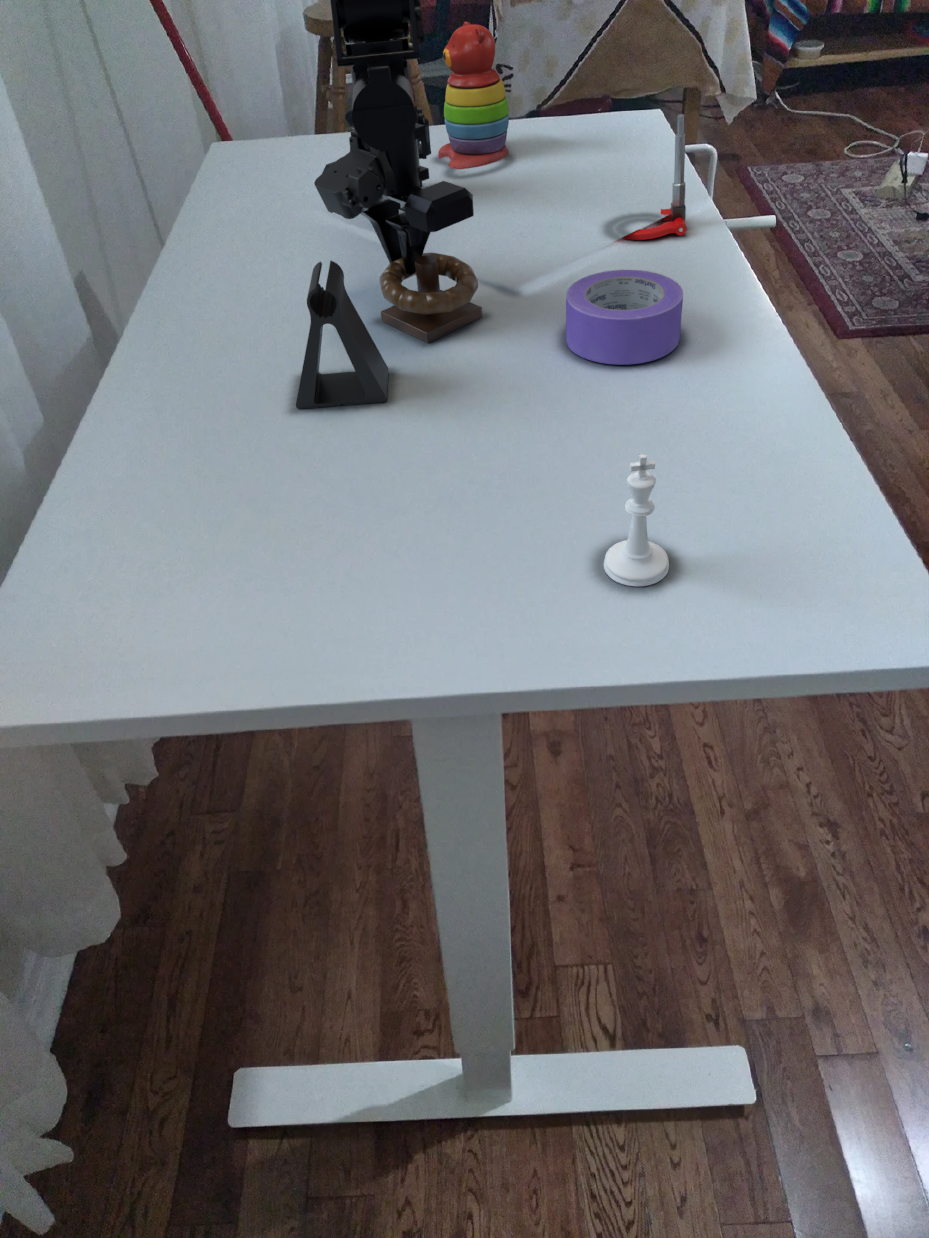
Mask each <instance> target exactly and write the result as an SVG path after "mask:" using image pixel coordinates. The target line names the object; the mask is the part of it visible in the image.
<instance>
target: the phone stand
mask: <svg viewBox="0 0 929 1238" xmlns="http://www.w3.org/2000/svg"><path fill="white" fill-rule="evenodd" d="M322 267H323V263H322V261H319V262H317V263H316V264H315V265H314V267H313V269H312V273H311V278H310V283H309V287H308V291H307V297H306V306H307V309H308V311H309V316H310V317H309V318H310V324H309V325H310V326H309V331H308V336H307V340H306V341H307V342H306V345H305V346H306V347H305V352H304V358H303V363H302V368H301V369H302V370H301V374H300V380H299V384H298V391H297V396H296V402H295V407H296V408H297V409H298V410H305V409H317V408H328V407H329V408H331V407H340V406H341V405H343V406H355V405H366V404H367V405H368V404H379V403H386V402H387V401H388V387H389V386H388V385H389V384H388V382H389V367H388V365H387V363H386V361H385V359H384V358H383V356H382V354H381V352H380V350H379V349H378V346H377V345H376V343H375V342H374V339H373V338H372V336H371V334H370V333H369V331H368V328H367V327H366V325H365V323H364V321H363V320H362V318H361V316H360V314H359V313H358V311H357V309H356V307H355V305H354V303H353V301H352V300H351V298H350V296H349V294H348V293H347V290H346V286H345V274H344V271H343V268H342V267H341V266H340V264H338V263H337V262H336V261H333V260H330V261H329V267H328V272H327V279H326V284H325V289H324V286H321V285H322V284H320V279H321V273H322ZM325 325H332V326H333V327H334V328H335V330H336V332H337V335H338V337H339V338H340V341H341V343H342V345H343V347H344V350H345V352H346V353H347V356H348V358H349V360H350V363H351V365H352V367H353V369H354V371H344V372H343V371H342V372H332V373H320V365H321V353H322V342H323V332H324V331H323V330H324V326H325Z"/></svg>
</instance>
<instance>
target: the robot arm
mask: <svg viewBox="0 0 929 1238" xmlns="http://www.w3.org/2000/svg"><path fill="white" fill-rule="evenodd" d="M329 3H330V10H331V19H332V26H333V37H334V38H333V39H334V47H335V54H336V64H337V67H339V68H340V67H348V66H349V67H350V74H351V82H352V103H351V120H352V124H353V127H354V130H352V131H350V136H349V138H348V139H349V140H348V143H349V152H347V153H346V154H345V155H344V156H341V157H339V158H338V159H337V160H334V161H332V162H329V163H326V164H325V166H324V168H323V171H322V172H321V173H320V175H318V177H316V179H315V180H314V187H315V189H316V190H317V192H318V195H319V196H320V198H321V201H322V203H323V205H324V206H325V208H326V211H327V212H328V213H330V214H333V213H334V214H337V215H339V216H341V217H342V218H344V219H346V220H352V219H355V218H357V217H358V216H359V215H361V216H363V217H364V218H366V219H367V220H368V221H369V223H370V224H371V226H372V228H373V230H374V232H375V234H376V236H377V238H378V241H379V242H380V245H381V247H382V249H383V251H384V253H385V257H386V258H387V260H388V262H389V264H390V263H391V262H393V261H396V260H398V259H400V258H403V263H404V267H405V270H406V274H407V275H412V274H414V273H416V268H415V260H416V259H417V258H418V257H421V256H422V254H423V253H424V252H425V248H426V246H427V243H428V241H429V238H430V235H431V233H437V232H439V231H442V230H443V229H446V228H448V227H451V226H453V225H455V224H458V223H460V222H463V221H465V220H468V219H470V218H472V217H474V215H475V209H474V194H473V193H472V192H470V190H469V189H467V188H466V187H464V186H462V185H461V186H460V185H457V184H455V183H452V182H448V181H445V180H442V181H439V182H437V183H434V184H431V185H429V186H423V182H424V181H427V180H429V179H430V168H429V167H427V166H426V167H425V166H422V165H420V160H421V159H422V160H428V159H427V157H428V156H430V155H432V149H431V136H430V122H429V119H428V118H427V117H426V116H425V113H423V108H422V107H417V100H416V91H415V89H414V87H413V83H412V82H413V81H412V74H411V63H410V61H409V60H417V59H418V60H419V59H420V58H421V57H420V48H419V46H425V45H426V43H425V33H424V23H423V13H422V5H421V4H422V3H421V0H330V1H329ZM409 24H410V29H409ZM342 33H343V36H342ZM410 34H411V35H410ZM409 36H411V44H410V45H409V38H408V37H409ZM343 41H344V42H345V43H346V44H345V50H346V51H344V46H343Z"/></svg>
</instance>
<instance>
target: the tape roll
mask: <svg viewBox="0 0 929 1238" xmlns="http://www.w3.org/2000/svg"><path fill="white" fill-rule="evenodd" d="M683 303H684V290H683V288H682V286H681V285H680V284H679V283H678V282H677V281H676V280H674V279H673V278H671V277H669V276H666V275H663V274H661V273H657V272H653V271H648V270H640V269H614V270H606V271H601V272H596V273H593V274H590V275H586V276H584V277H582V278H580V279H578V280H576V281H575V282H573V283H571V285H570V286H569V287H568V288H567V291H566V292H565V343H566V346H567V348H568V349H569V350H570V351H571V352H572V353H574V354H575V355H577V356H579V357H580V358H583V359H585V360H587V361H591V362H595V363H600V364H605V365H615V366H616V365H618V366H619V365H620V366H621V365H622V366H623V365H626V366H627V365H628V366H629V365H638V364H644V363H648V362H652V361H656V360H659V359H661V358H663V357H666V356H667V355H669V354H671V352H673V351H674V350H675V349H676V348H677V346H678V345H679V343H680V340H681V327H682V313H683Z"/></svg>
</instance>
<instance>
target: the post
mask: <svg viewBox="0 0 929 1238" xmlns="http://www.w3.org/2000/svg"><path fill="white" fill-rule="evenodd" d="M415 268H416V275H415V276H416V286H417V291H419V292H424V293H430V292H440V291H444V290H443V289H441V286H440V275H439V273H438V262H437V258H436V257H434V256H421V257H418V258H417V259H416V260H415ZM481 318H483V307H482V306H480V305H479V304H475V303H473V302H471V301H470V302H469V303H468V304H466V305H464V306H462V307H460V308H458V309H456V310H454V311H451V312H449V313H441V314H431V315H423V314H418V313H412V312H407V311H403V310H401V309H399V308H398V307H396V306H395V305H391V306H390V307H387V308H385V309H383V310H381V311H380V319H381V322H383V323H385V324H387V325H389V326H390V327H393V328H395V329H397V330H399V331H401V332H402V333H403V332H404V333H406V334H408V335H409V336H412V337H414V338H416V339H418V340H420V341H422V342H425V343H427V344H429V343H432V342H434V341H435V340H437V339H439V338H441V337H444V336H446V335H448V334H450V333H452V332H454V331H456V330H458V329H460V328H462V327H465V326H466V325H468V324H471V323H473V322H475V321H477V320H479V319H481Z"/></svg>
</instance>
